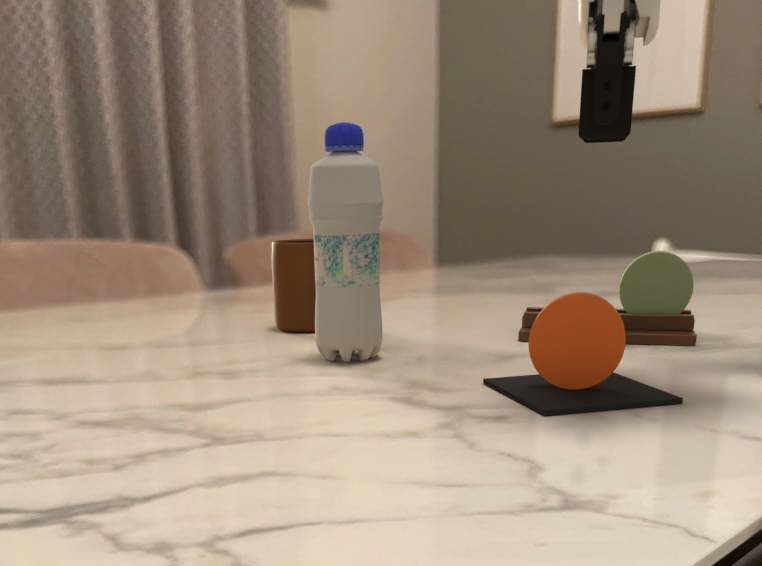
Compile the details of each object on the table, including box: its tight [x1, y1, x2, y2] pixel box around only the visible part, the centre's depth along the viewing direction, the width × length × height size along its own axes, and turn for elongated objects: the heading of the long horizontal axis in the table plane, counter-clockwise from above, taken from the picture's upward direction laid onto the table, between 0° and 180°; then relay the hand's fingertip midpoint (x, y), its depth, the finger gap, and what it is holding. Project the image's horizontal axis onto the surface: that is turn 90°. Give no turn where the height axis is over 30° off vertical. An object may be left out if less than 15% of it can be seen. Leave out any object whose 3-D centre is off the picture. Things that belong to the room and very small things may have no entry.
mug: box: [271, 238, 316, 333], centre depth 95 cm, size 12×8×9 cm, turn 81°
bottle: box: [307, 121, 384, 363], centre depth 76 cm, size 7×7×20 cm
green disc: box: [618, 250, 695, 314], centre depth 85 cm, size 2×7×7 cm, turn 75°
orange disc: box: [528, 291, 626, 390], centre depth 64 cm, size 2×7×7 cm, turn 75°
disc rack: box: [517, 306, 697, 347], centre depth 88 cm, size 9×17×2 cm, turn 75°
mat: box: [482, 371, 684, 417], centre depth 65 cm, size 11×11×1 cm
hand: (604, 140), depth 59 cm, fingers open, 9 cm apart
